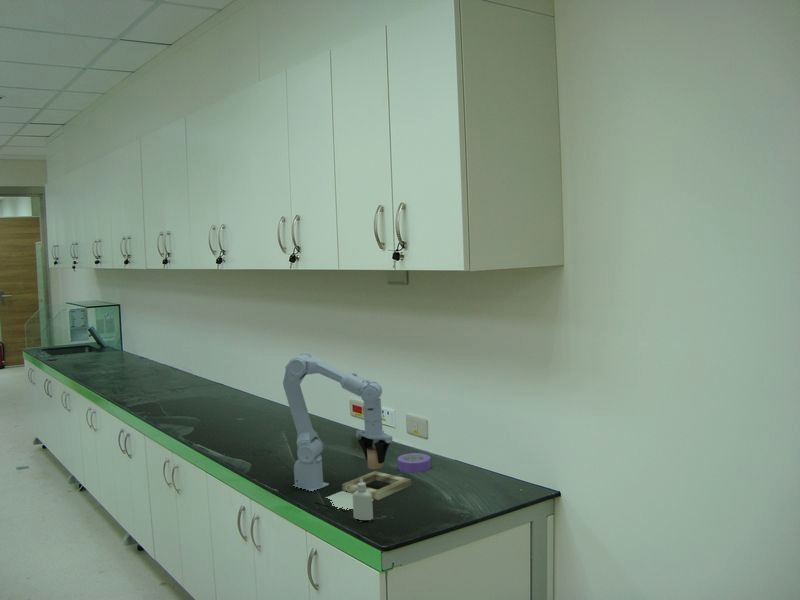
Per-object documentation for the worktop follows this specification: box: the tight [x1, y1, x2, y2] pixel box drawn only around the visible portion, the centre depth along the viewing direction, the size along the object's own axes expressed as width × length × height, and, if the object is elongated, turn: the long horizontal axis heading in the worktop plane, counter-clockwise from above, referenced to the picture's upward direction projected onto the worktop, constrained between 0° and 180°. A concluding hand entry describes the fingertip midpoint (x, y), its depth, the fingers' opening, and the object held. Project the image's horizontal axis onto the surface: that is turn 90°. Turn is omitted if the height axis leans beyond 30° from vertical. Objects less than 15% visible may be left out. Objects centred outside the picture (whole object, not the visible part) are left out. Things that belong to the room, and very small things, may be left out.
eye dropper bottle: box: [352, 479, 374, 521], centre depth 202 cm, size 4×6×12 cm
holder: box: [341, 470, 412, 501], centre depth 229 cm, size 16×16×2 cm
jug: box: [367, 445, 384, 470], centre depth 229 cm, size 5×7×6 cm
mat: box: [325, 490, 375, 510], centre depth 218 cm, size 14×12×1 cm
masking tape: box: [397, 452, 432, 474], centre depth 248 cm, size 12×12×4 cm
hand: (375, 461), depth 229 cm, fingers closed on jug, 5 cm apart
